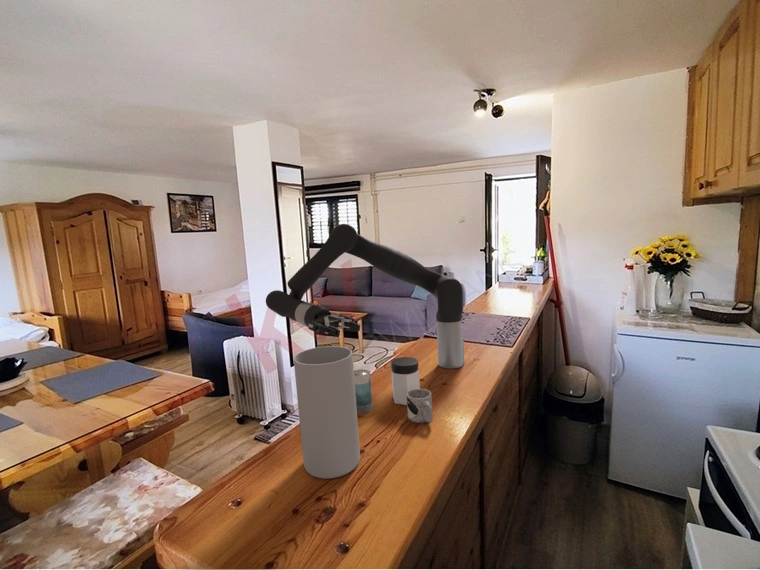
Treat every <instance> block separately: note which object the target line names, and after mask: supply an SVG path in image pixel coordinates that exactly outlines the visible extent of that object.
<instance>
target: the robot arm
mask: <svg viewBox="0 0 760 570" xmlns="http://www.w3.org/2000/svg"><path fill="white" fill-rule="evenodd" d="M343 254H348V255H352V256H353V257H356V258H359V259H361V260H364V261H365V262H367V263H368V264H370V265H371V266H373V267H374V268H376V269H378V270H379V271H381V272H384V273H385V274H387V275H388V276H390V277H393V278H395V279H397V280H399V281H402V282H404V283H408V284H411V285H415V286H418V287H420V288H421V289H423V290H425V291H426V292H427V293H430V294H431V295H433V296H434V297H435V298H437V311H436V314H435V318H436V319H435V320H436V339H437V341H436V344H437V362H438V363H437V364H438V366H439V367H440V368H443V369H448V370H449V369H451V370H453V369H458V368H461V367H463V366H464V364H465V343H464V341H465V340H464V337H463V328H462V327H463V324H462V323H463V322H462V321H463V319H462V315H463V313H464V290H463V289H464V288H463V285H462V283H461V282H460V281H459V280H458V279H456V278H454V277H450V276H448V275H444V274H441V273H439V272H436V271H434V270H431V269H429V268H427V267H425V266H424V265H423V264H422V263H420V262H419V261H417V260H416V259H414V258H412V257H411V256H409V255H408V254H405V253H403V252H402V251H400V250H397V249H395V248H392V247H390V246H387V245H384V244H380V243H377V242H374V241H372V240H369V239H367V238H366V237H364V236H362V235H361V234H359V233H358V232H357V230H356V228H355V227H353V226H352V225H350V224H347V223H340V224H338V225H336V226H335V227H334V228H333V229H332V231H331V232H330V235H329V236H328V238H327V239H326V241H325V242H324V244H322V246H321V247H320V248H319V249H318V251H317V252H316V253H315V254H314V255H313V256H312V257H311V258H309V260H307V261H306V263H304V264H303V265H302V266H301V267H300V268H299V269H298V270H297V271H296V273H294V275H292V277H290V279H289V280H288V281H287V283H286V285H287V287H288V288H289V290H290V292H289V293H286V292H285V291H282V290H278V289H276V290H272V291H271V292H269V293H268V294H267V295H266V298H265V304H266V307H267V308H268V309H269V310H271V311H273V312H274V313H276V314H277V315H278V316H279V317H282V318H286V317H287V318H289V319H290V320H292V321H294V322H297V323H298V324H300V325H302V326H304V327H306V328H308V330H310V331H313V332H314V333H317V334H319V335H323V334H324V333H325V334H326V335H328V334H329V335H332V336H333V337H336V338H338V337H340V334H341V330H342V329H344V328H346V329H349V330H352V331H355V332H360V331H361V324H359V323H357V322H355V321H356V320H355V318H354V317H350V316H347V315H344V314H341V313H340V314H339V315H338V316H337V315H336V314H335V315H334V314H331V312H330V310H329V309H328V308H326V307H323V306H321V305H317V304H315V303H313V302H307V301H304V300H302V299H303V297H304V296H305V294H306V293H307V292H308V291H309V290H310V289H311V288H312V287H313V286H314V284H316V282H317V281H318V280H319V279H320V278H321V276H322V275H323V274H324V273H325V272H326V271H327V270H328V268H329V267H330V266H331V265H332V264H333V263H334V262H335V261H336V260H338V258H340V257H341V256H342V255H343Z"/></svg>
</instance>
